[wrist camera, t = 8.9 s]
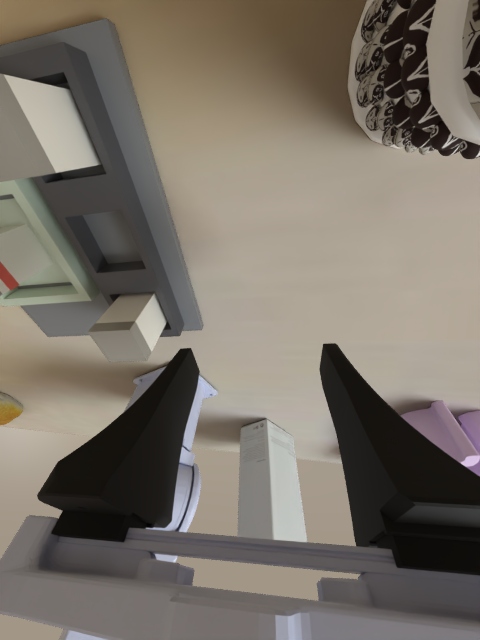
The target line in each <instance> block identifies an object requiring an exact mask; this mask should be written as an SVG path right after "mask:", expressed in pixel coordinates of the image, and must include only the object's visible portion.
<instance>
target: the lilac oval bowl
mask: <svg viewBox="0 0 480 640" xmlns="http://www.w3.org/2000/svg"><path fill="white" fill-rule="evenodd" d="M400 416H401V417H402V418H403V419H404V420H406V421H407V422H408V423H409V424H410V425H411V426H413V427H414V428H415V429H416V430H418V431H419V432H420V433H421V434H422V435H424V436H425V437H426V438H427V439H429V440H430V441H431V442H432V443H434V444H435V445H436V446H438V447H439V448H440V449H442V450H443V451H444V452H446V453H447V454H448V455H450V456H451V457H452V458H454V459H455V460H457V461H458V462H460V463H461V464H462V465H464V466H465V467H467V468H468V469H470V470H471V471H473V472H474V473H475V474H477V475H478V476H480V410H478V411H473V412H469V413H465V414H463V415H460V416H458V419H459V420H460V421H461V423H462V425H461V427H460V425H459V424H458V422H457V421H456V419H455V418H454V417H453V415H452V414H451V412H450V411H449V409H448V408H447V406H446V405H445V403H444V402H443V401H435V402H433V403H432V404H431V407H430V408H428V409H422V410H416V411H412V412H408V413H405V414H402V415H400Z"/></svg>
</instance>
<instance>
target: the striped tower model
mask: <svg viewBox="0 0 480 640" xmlns="http://www.w3.org/2000/svg"><path fill="white" fill-rule="evenodd" d="M347 88H348V92H349V96H350V101H351V105H352V110H353V114H354V118H355V121H356V122H357V123H358V124H359V126H360V127H361V128H362V129H363V130H364V132H365V133H366V134H367V135H368V137H369V138H370V139H371V140H372V141H375V142H378V143H381V144H384V145H385V146H390V147H393V148H396V149H399V148H405V150H406V152H413V151H415V150H416V149H417V148H419V152H420V153H421V154H428V153H430V152H432V151H433V150H434V149H437V150H438V151H439V153H440V154H441V155H443V156H449V155H453V154H455V153H457V152H459V151H460V153H461V155H462V156H463V157H464V158H465V159H474V158H478V157H480V0H367V1H366V4H365V7H364V10H363V12H362V15H361V18H360V21H359V23H358V26H357V29H356V32H355V35H354V37H353V40H352V44H351V54H350V65H349V75H348V85H347Z"/></svg>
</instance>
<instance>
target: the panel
mask: <svg viewBox="0 0 480 640" xmlns="http://www.w3.org/2000/svg"><path fill="white" fill-rule="evenodd" d="M0 74H4V75H9V76H13V77H17V78H22V79H26V80H30V81H35V82H39V83H43V84H48V85H52V86H56V87H61V88H65V89H69V90H71V91H72V93H73V95H74V98H75V100H76V103H77V105H78V107H79V110H80V112H81V114H82V117H83V119H84V122H85V124H86V126H87V129H88V131H89V134H90V136H91V138H92V141H93V143H94V146H95V148H96V150H97V153H98V155H99V158H100V160H101V162H102V164H101V165H96V166H90V167H85V168H80V169H74V170H69V171H64V172H58V173H53V174H48V175H43V176H36V177H30V178H24V179H17V180H11V181H5V182H0V227H5V226H13V225H21V224H27V225H28V226H29V228H30V229H31V230H32V232H33V233H34V235H35V236H36V238H37V239H38V241H39V242H40V244H41V245H42V247H43V248H44V249H45V251H46V252H47V254H48V255H49V257H50V258H51V260H52V261H53V264H51V265H49V266H48V267H46V268H45V269H43V270H41V271H40V272H38V273H36V274H35V275H33V276H32V277H30V278H28V279H27V280H25V281H23V282H22V283H20V284H19V286H17V287H16V288H14V289H12V290H10V291H7V292H6V293H4V294H2V295H1V296H0V304H1V306H2V307H6V306H21V307H22V308H23V309H24V311H25V312H26V313H27V314H28V315H29V316H30V317H31V318H32V320H33V321H34V322H35V323H36V324H37V325H38V326H39V327H40V329H41V330H42V331H43V332H44V333H45V334H46V335H47V336H48V337H58V336H80V335H89V333H88V331H89V330H90V329H91V327H92V326H93V325H94V324H95V323H96V322H97V321H98V320H99V318H100V317H101V316H102V315H103V314H104V313H105V312H106V310H107V309H108V308H109V307H110V306H111V305H112V304H113V303H114V301H115V300H116V299H117V298H118V297H119V296H120V295H121V294H126V293H140V292H154V291H155V292H156V294H157V296H158V299H159V301H160V303H161V306H162V308H163V311H164V313H165V315H166V318H167V320H168V321H167V323H166V325H165V327H164V329H163V331H162V333H161V335H160V337H169V336H180V335H181V332H182V331H192V330H202V329H203V322H202V318H201V315H200V312H199V308H198V305H197V302H196V298H195V295H194V291H193V288H192V285H191V281H190V278H189V274H188V271H187V268H186V264H185V261H184V258H183V254H182V251H181V247H180V244H179V241H178V237H177V234H176V231H175V227H174V224H173V220H172V217H171V214H170V210H169V207H168V203H167V200H166V197H165V193H164V190H163V187H162V183H161V180H160V176H159V173H158V170H157V166H156V163H155V159H154V156H153V153H152V149H151V146H150V143H149V139H148V136H147V132H146V129H145V126H144V122H143V119H142V116H141V112H140V109H139V105H138V102H137V99H136V95H135V92H134V88H133V85H132V82H131V78H130V75H129V72H128V68H127V65H126V61H125V58H124V55H123V51H122V48H121V45H120V41H119V38H118V34H117V31H116V28H115V24H114V23H112V22H111V21H109V20H108V19H107V18H106V19H102V20H98V21H94V22H90V23H86V24H82V25H78V26H74V27H70V28H66V29H63V30H59V31H55V32H51V33H47V34H43V35H39V36H35V37H31V38H27V39H23V40H19V41H15V42H12V43H8V44H4V45H0Z"/></svg>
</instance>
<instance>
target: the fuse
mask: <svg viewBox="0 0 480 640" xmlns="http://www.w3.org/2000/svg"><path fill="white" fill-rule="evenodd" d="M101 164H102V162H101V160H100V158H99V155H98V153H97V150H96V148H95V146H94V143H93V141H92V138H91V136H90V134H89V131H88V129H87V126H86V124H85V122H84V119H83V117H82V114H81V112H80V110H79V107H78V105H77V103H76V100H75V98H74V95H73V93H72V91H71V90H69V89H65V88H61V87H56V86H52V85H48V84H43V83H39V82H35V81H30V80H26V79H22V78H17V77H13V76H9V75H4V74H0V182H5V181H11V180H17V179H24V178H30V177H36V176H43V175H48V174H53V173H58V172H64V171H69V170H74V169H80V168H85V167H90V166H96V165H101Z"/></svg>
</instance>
